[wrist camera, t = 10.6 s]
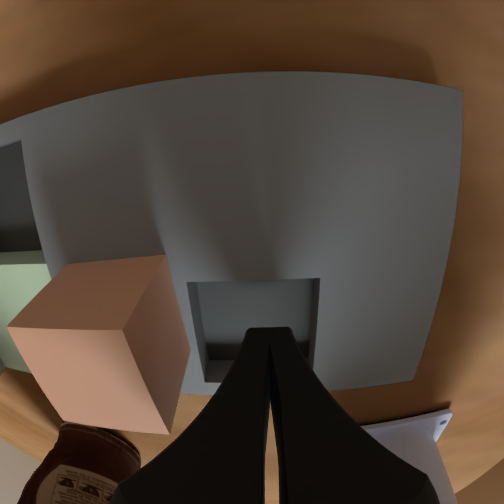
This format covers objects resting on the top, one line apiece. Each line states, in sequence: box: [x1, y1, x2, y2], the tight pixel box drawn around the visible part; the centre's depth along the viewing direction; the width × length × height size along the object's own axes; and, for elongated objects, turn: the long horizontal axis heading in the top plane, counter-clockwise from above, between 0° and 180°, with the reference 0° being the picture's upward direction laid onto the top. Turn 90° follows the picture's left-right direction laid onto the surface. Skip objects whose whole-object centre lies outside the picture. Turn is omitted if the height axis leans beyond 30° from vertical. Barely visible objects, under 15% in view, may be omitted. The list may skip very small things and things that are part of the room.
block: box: [6, 255, 191, 435], centre depth 9 cm, size 4×4×4 cm
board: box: [0, 71, 463, 395], centre depth 10 cm, size 12×22×3 cm, turn 93°
